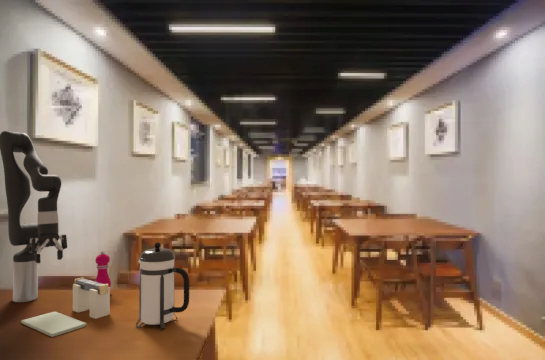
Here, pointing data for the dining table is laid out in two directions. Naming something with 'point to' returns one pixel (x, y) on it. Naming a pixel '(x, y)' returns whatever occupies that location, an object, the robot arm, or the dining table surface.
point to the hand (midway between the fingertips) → (49, 261)
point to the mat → (53, 323)
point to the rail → (92, 285)
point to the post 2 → (99, 304)
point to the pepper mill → (103, 269)
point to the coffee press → (159, 287)
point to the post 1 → (80, 299)
